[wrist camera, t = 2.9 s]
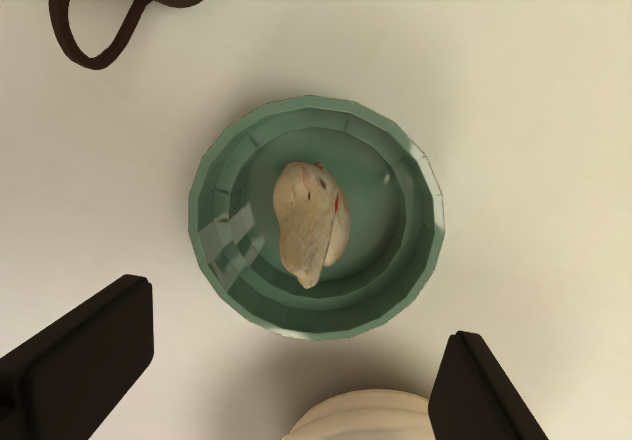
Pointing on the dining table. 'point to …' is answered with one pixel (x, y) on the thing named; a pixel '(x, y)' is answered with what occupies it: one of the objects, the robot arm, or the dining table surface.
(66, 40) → the coffee mug
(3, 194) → the dining table surface
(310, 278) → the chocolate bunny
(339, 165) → the bowl
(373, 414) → the cream round dish
